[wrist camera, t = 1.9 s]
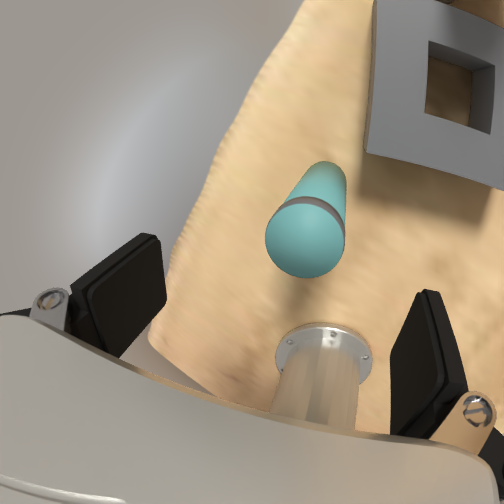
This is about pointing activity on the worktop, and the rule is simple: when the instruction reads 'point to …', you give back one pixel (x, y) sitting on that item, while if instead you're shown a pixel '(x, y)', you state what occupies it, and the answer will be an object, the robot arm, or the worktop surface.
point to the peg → (310, 224)
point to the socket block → (415, 82)
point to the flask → (446, 1)
